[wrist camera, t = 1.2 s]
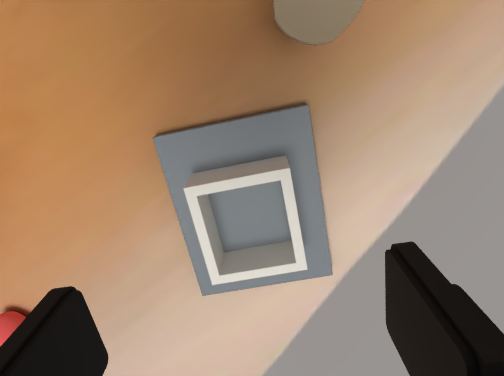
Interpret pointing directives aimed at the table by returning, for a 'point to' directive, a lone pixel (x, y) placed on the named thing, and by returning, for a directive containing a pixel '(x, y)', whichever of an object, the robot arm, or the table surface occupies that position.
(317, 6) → the handle
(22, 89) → the table surface
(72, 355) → the robot arm
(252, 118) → the socket
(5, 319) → the red bean shape
